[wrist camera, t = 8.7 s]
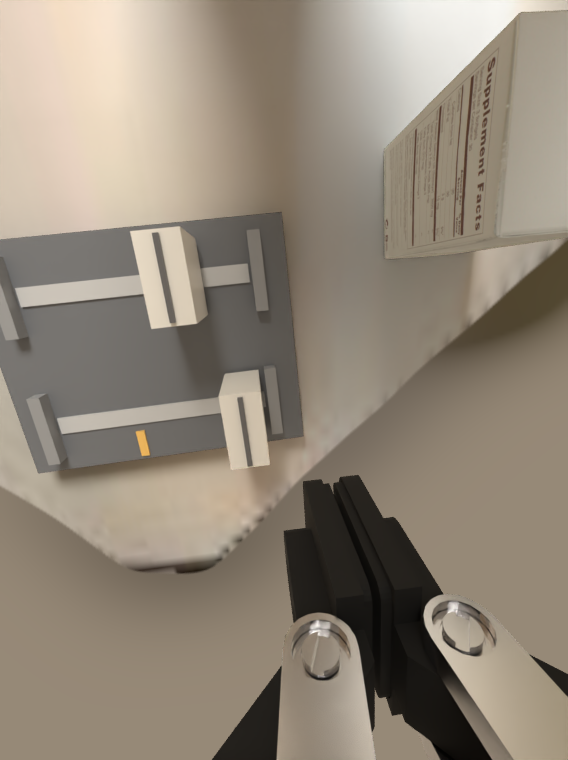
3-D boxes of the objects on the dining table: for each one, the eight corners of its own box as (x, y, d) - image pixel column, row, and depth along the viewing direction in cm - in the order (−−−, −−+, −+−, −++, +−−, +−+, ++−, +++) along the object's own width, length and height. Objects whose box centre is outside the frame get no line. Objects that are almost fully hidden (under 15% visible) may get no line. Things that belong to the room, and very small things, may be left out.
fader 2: (224, 373, 24) (218, 397, 19) (258, 369, 24) (260, 392, 19) (234, 435, 26) (231, 472, 21) (266, 430, 26) (270, 466, 21)
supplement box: (483, 140, 24) (724, -5, 12) (474, 253, 26) (670, 228, 14) (380, 146, 23) (521, 0, 11) (379, 260, 25) (497, 242, 13)
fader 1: (156, 242, 21) (128, 230, 16) (195, 238, 22) (178, 225, 17) (172, 318, 23) (150, 329, 18) (208, 314, 23) (196, 324, 18)
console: (-19, 246, 23) (-58, 242, 20) (279, 217, 24) (283, 208, 21) (53, 459, 27) (30, 480, 24) (300, 426, 28) (305, 442, 26)
